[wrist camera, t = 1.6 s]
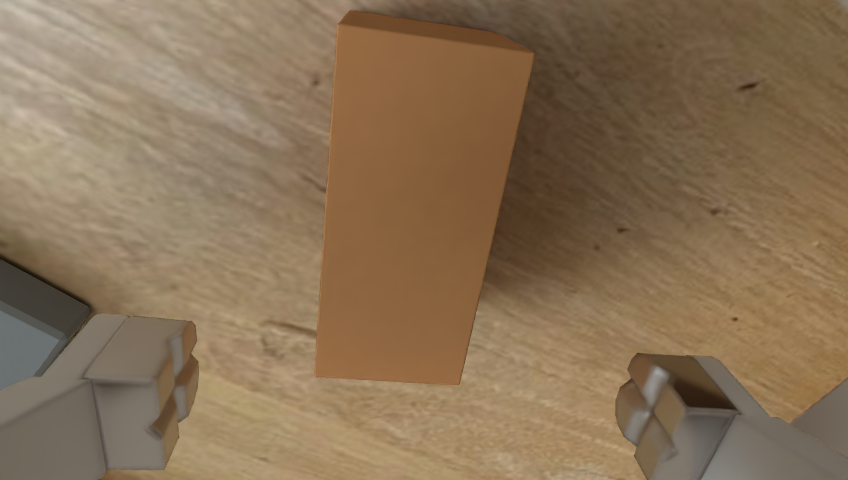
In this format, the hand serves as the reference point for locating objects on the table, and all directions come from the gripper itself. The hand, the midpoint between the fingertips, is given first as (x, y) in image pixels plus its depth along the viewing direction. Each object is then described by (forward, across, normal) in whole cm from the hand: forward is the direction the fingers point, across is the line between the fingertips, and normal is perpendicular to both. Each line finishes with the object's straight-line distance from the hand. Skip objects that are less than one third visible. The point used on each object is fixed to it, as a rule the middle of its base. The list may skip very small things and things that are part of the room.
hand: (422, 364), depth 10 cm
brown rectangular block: (+9, 0, 0) cm, 9 cm away
